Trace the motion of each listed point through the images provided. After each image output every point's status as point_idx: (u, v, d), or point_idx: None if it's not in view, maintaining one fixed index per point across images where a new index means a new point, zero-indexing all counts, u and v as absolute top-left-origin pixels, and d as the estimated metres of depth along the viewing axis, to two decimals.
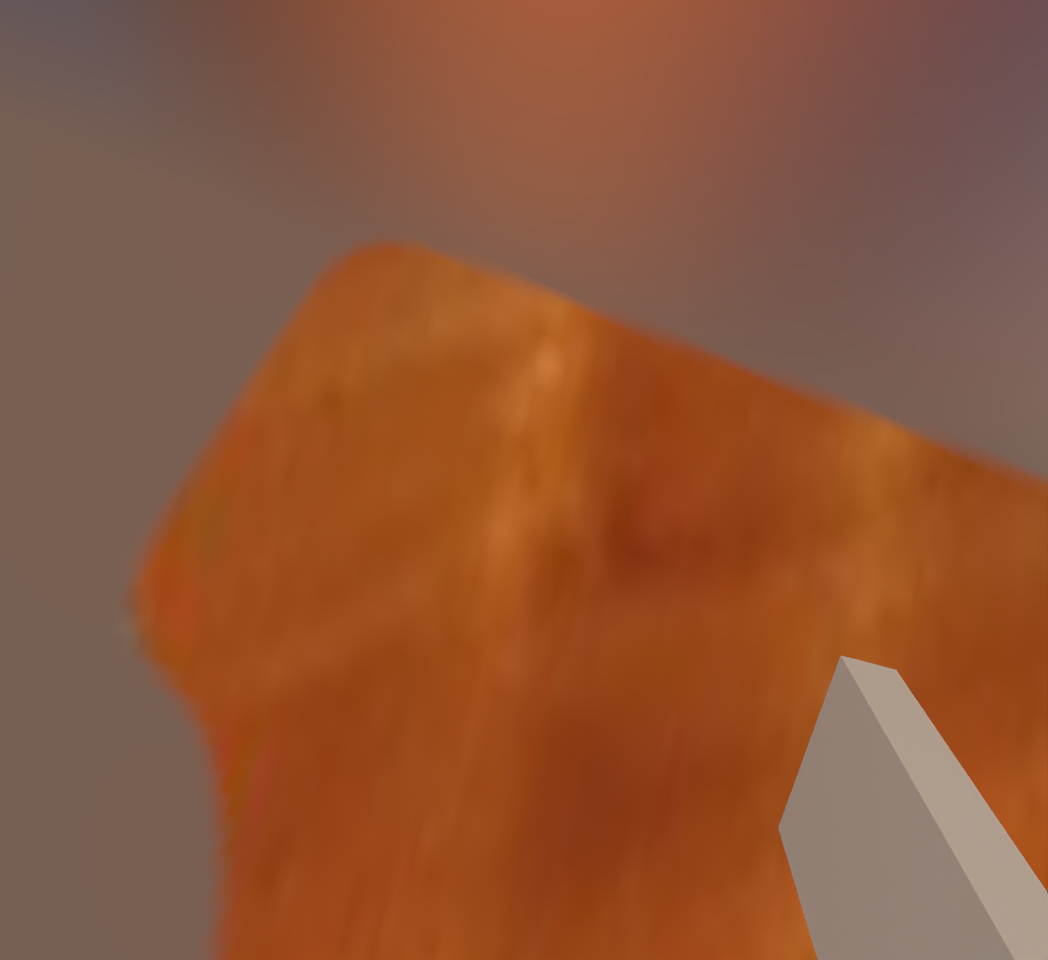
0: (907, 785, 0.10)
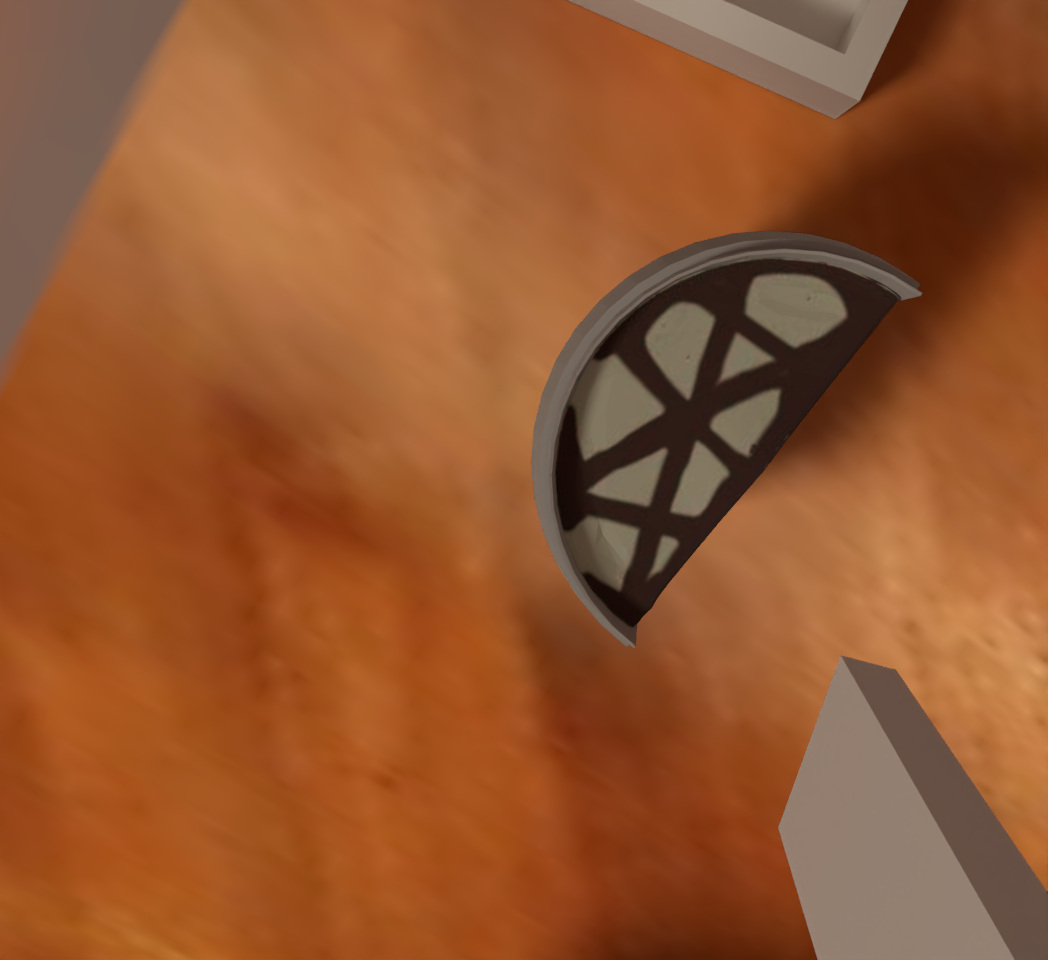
0: (907, 785, 0.10)
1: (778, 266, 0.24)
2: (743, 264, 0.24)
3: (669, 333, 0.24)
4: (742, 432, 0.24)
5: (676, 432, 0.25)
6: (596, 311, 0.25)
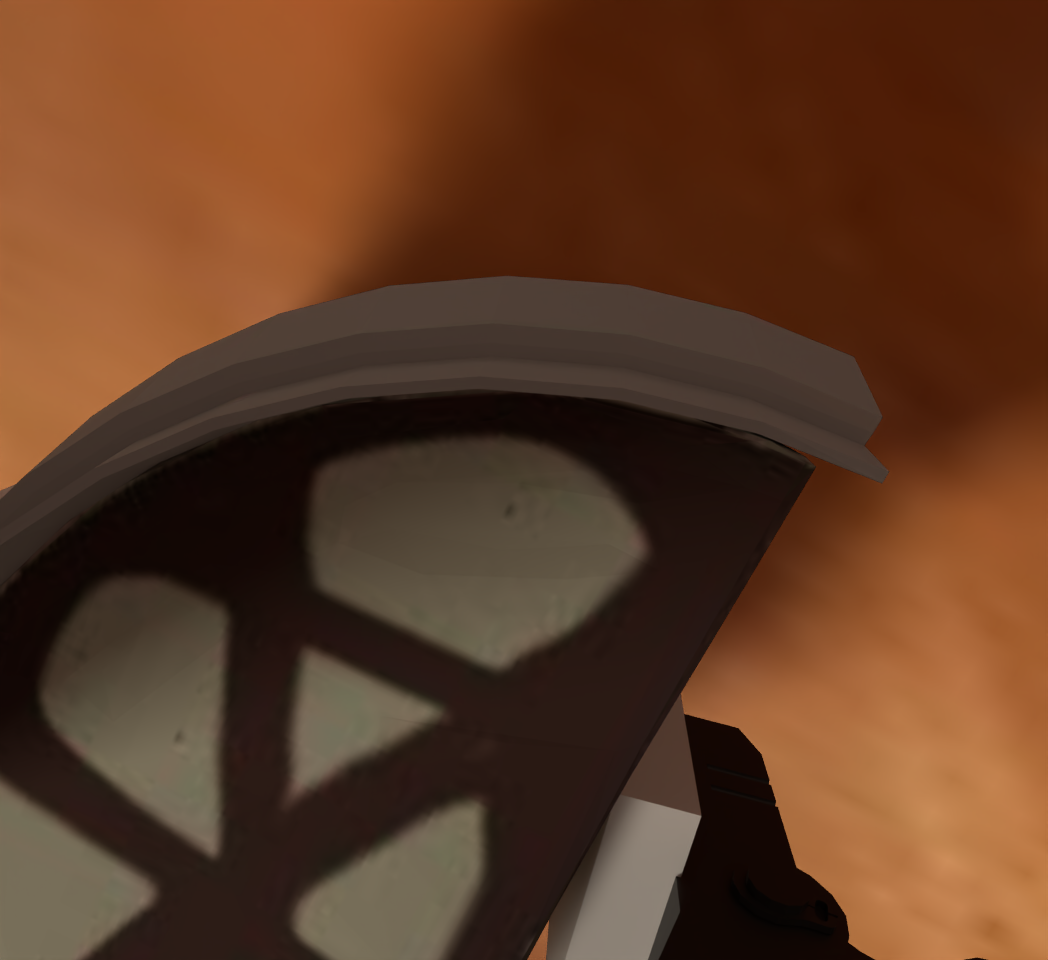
0: None
1: (382, 424, 0.07)
2: (267, 437, 0.07)
3: (108, 673, 0.08)
4: (388, 946, 0.08)
5: (208, 949, 0.08)
6: None
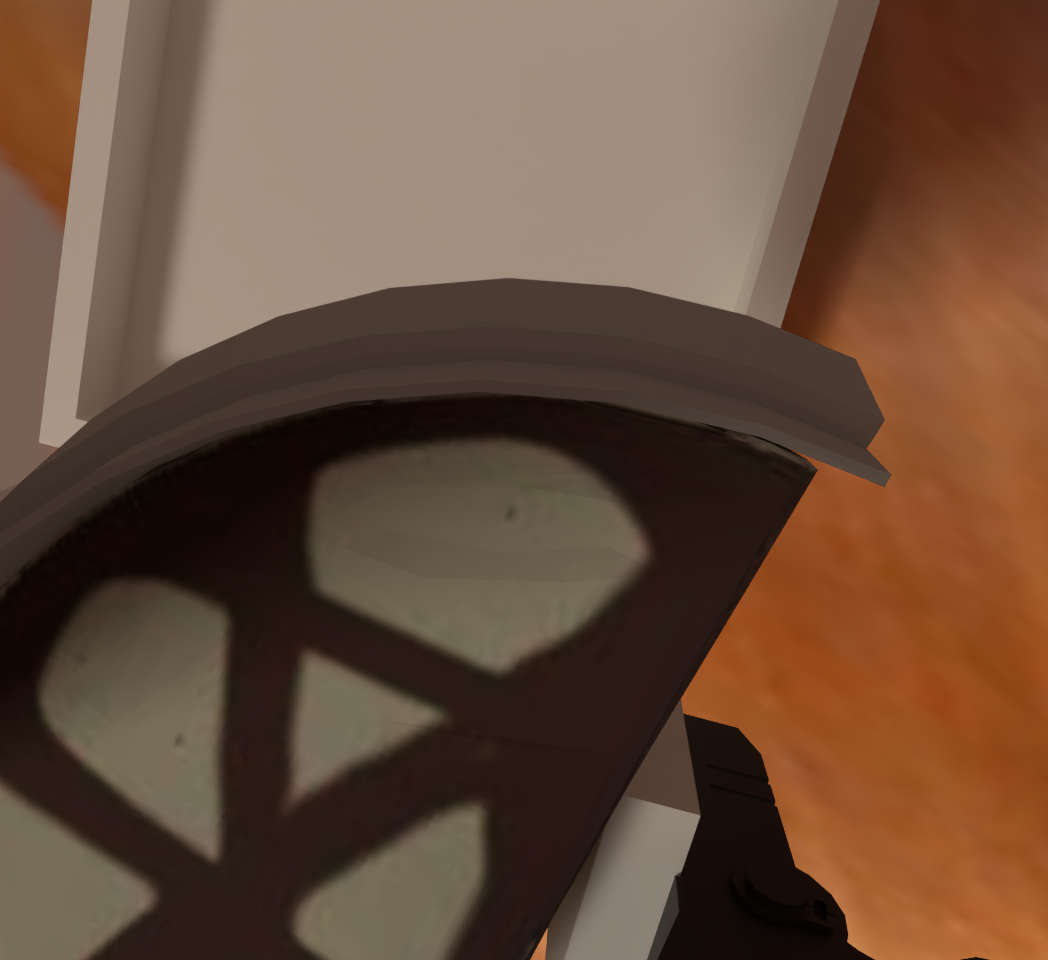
0: None
1: (382, 427, 0.07)
2: (267, 441, 0.07)
3: (107, 677, 0.08)
4: (389, 950, 0.08)
5: (208, 952, 0.08)
6: None
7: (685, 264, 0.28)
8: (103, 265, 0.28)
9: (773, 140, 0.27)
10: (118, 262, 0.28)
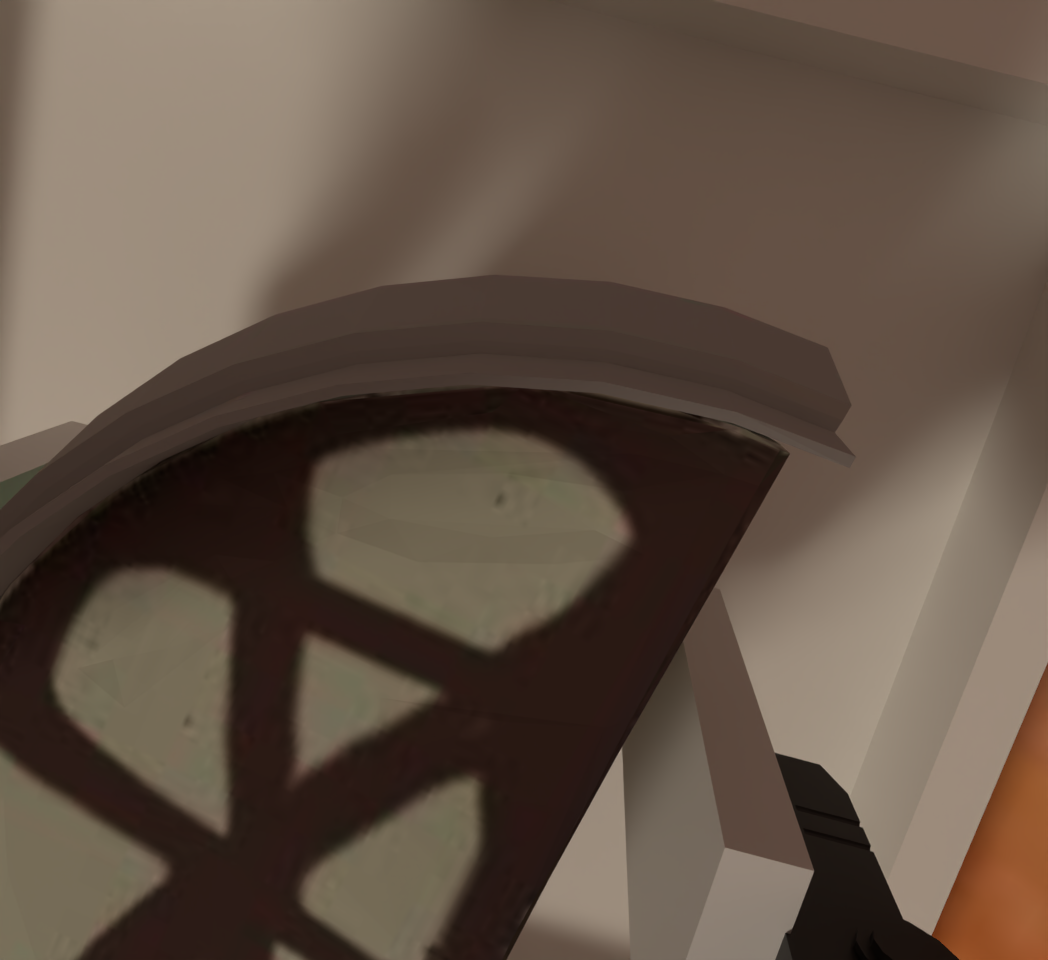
0: (685, 670, 0.11)
1: (376, 419, 0.07)
2: (266, 433, 0.07)
3: (118, 661, 0.08)
4: (391, 917, 0.08)
5: (219, 924, 0.08)
6: None
7: (796, 662, 0.17)
8: None
9: (953, 479, 0.16)
10: None
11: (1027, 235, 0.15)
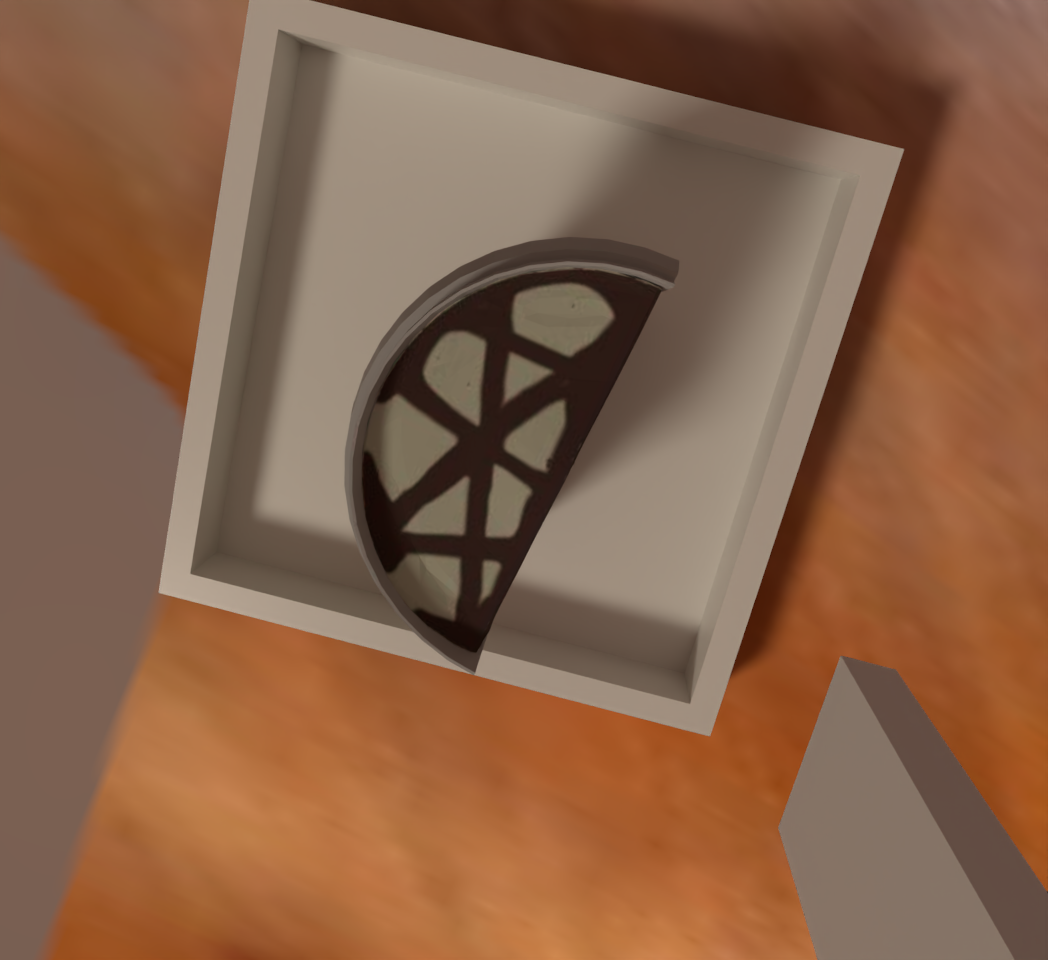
0: (907, 785, 0.10)
1: (535, 280, 0.24)
2: (501, 285, 0.24)
3: (445, 364, 0.24)
4: (535, 449, 0.24)
5: (474, 459, 0.25)
6: (375, 353, 0.25)
7: (704, 445, 0.34)
8: (215, 448, 0.33)
9: (779, 347, 0.32)
10: (225, 441, 0.34)
11: (808, 225, 0.31)
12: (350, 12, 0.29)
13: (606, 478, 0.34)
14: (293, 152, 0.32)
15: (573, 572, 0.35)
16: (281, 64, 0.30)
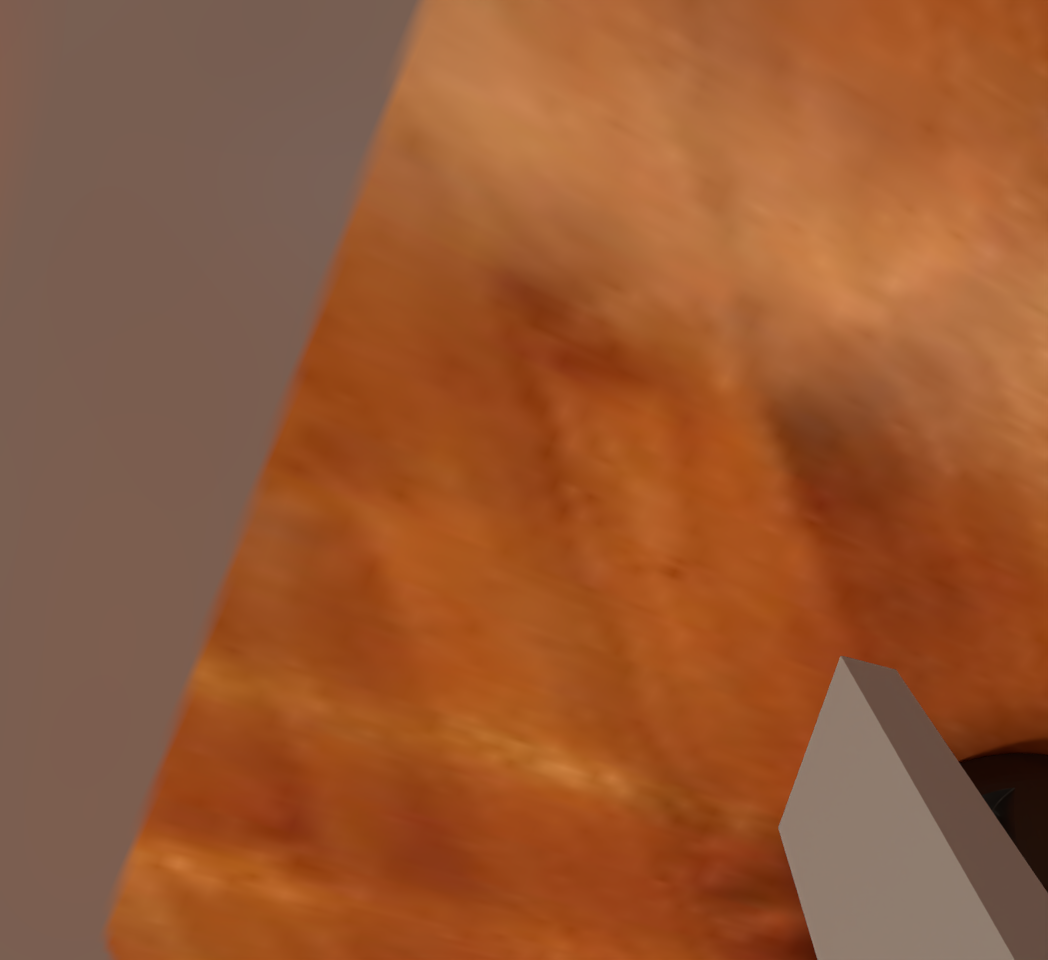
0: (907, 785, 0.10)
1: None
2: None
3: None
4: None
5: None
6: None
7: None
8: None
9: None
10: None
11: None
12: None
13: None
14: None
15: None
16: None
